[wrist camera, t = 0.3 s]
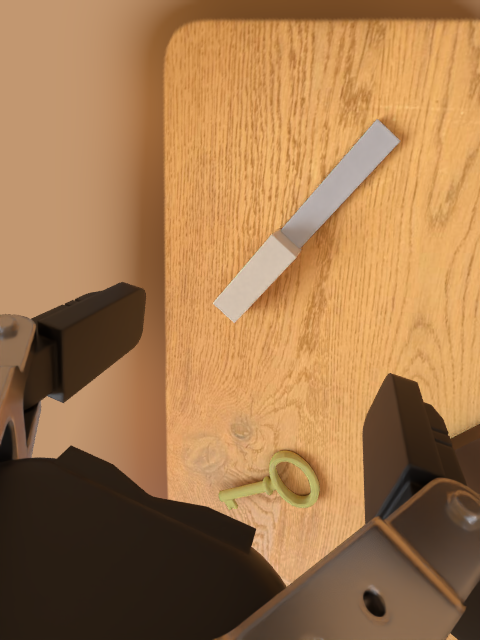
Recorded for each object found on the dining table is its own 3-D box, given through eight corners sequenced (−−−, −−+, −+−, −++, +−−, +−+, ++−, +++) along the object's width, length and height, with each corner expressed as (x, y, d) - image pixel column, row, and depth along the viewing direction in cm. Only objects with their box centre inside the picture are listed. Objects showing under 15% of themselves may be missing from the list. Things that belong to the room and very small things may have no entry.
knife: (244, 311, 32) (234, 323, 30) (223, 292, 32) (212, 303, 30) (401, 143, 24) (407, 140, 21) (374, 117, 24) (377, 110, 21)
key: (219, 484, 43) (213, 498, 41) (290, 442, 37) (286, 457, 35) (259, 522, 43) (255, 538, 42) (335, 487, 38) (334, 504, 36)
